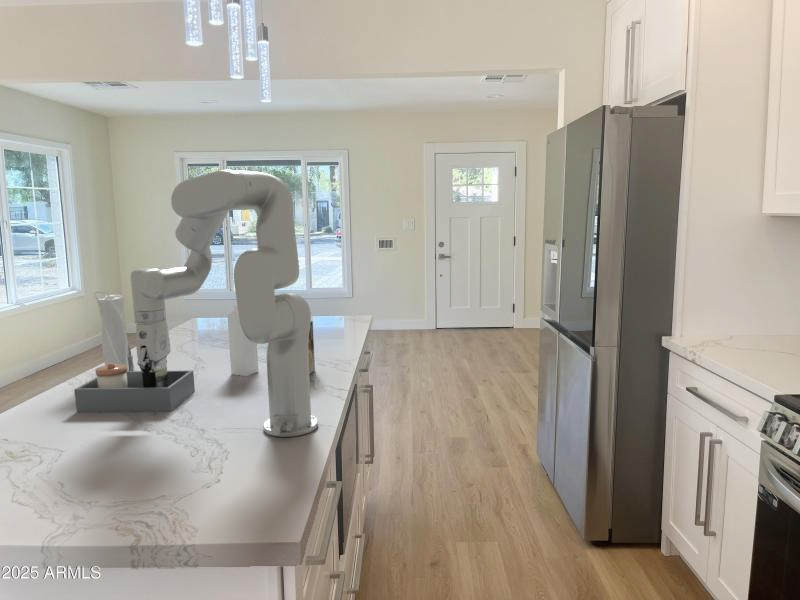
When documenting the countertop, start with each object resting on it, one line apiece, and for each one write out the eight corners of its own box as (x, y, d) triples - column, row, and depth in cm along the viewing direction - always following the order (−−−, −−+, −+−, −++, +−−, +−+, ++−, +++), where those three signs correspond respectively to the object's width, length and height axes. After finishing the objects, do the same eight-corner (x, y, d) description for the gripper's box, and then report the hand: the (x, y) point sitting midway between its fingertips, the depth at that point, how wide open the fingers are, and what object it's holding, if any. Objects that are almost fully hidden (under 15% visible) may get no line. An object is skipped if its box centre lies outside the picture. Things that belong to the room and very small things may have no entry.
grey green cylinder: (162, 391, 148) (160, 361, 147) (139, 392, 148) (136, 362, 147) (172, 384, 154) (169, 355, 153) (149, 384, 154) (147, 356, 153)
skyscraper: (105, 387, 167) (95, 293, 163) (101, 381, 174) (92, 290, 169) (136, 382, 172) (127, 290, 167) (132, 376, 178) (123, 287, 174)
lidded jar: (121, 406, 148) (117, 366, 146) (93, 406, 148) (89, 367, 146) (135, 396, 155) (131, 359, 154) (108, 397, 155) (104, 359, 154)
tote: (171, 415, 144) (169, 388, 142) (77, 416, 144) (74, 389, 143) (195, 394, 159) (193, 370, 158) (110, 395, 160) (107, 371, 159)
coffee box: (296, 369, 183) (294, 320, 180) (315, 370, 181) (313, 320, 179) (285, 378, 174) (282, 326, 171) (305, 378, 173) (302, 326, 170)
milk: (231, 374, 179) (225, 305, 175) (244, 369, 184) (239, 302, 180) (246, 376, 176) (241, 306, 172) (259, 371, 181) (254, 303, 178)
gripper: (149, 322, 139) (155, 393, 142) (177, 310, 156) (182, 373, 159) (119, 322, 139) (125, 393, 142) (150, 310, 156) (155, 373, 159)
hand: (155, 382), depth 151 cm, fingers closed on grey green cylinder, 6 cm apart
